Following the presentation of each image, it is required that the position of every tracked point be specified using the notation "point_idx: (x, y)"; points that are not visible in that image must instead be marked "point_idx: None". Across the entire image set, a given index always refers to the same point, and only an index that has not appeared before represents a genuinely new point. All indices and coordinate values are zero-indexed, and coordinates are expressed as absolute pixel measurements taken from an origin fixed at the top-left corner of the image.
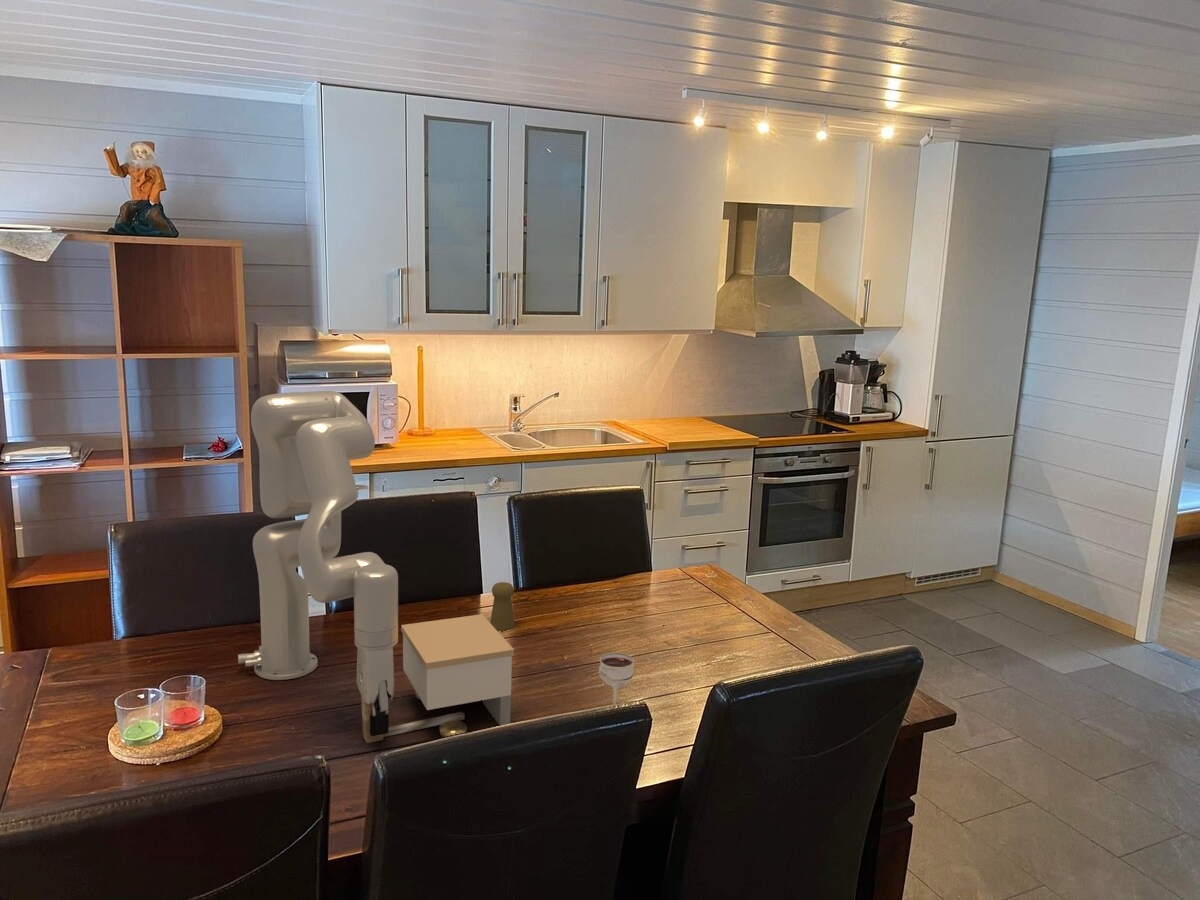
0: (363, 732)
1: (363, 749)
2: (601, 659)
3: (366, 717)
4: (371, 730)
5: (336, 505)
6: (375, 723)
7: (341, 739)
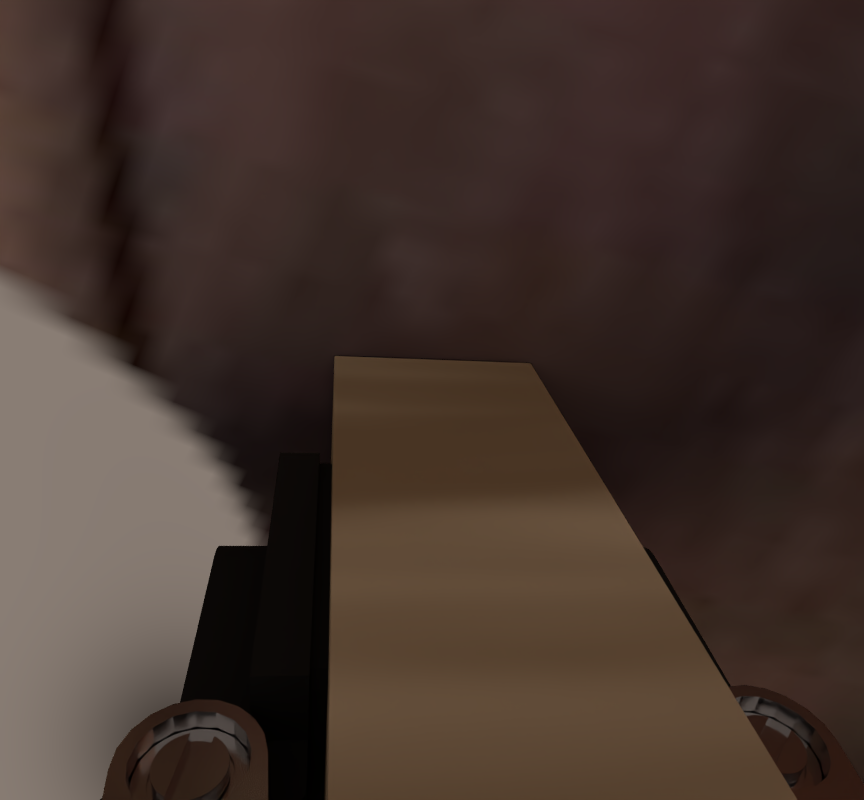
0: (506, 384)
1: (207, 291)
2: None
3: (331, 584)
4: (277, 501)
5: None
6: (224, 628)
7: (578, 98)
